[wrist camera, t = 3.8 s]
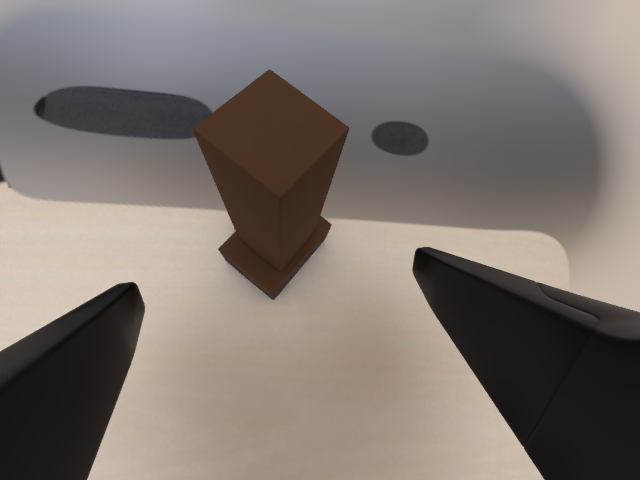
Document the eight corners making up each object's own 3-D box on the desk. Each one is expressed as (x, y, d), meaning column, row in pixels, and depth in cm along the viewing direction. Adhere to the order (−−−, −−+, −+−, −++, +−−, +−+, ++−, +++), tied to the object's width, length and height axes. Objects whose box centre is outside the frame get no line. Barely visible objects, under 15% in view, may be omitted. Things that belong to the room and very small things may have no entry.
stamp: (273, 300, 20) (262, 243, 7) (226, 261, 20) (142, 145, 8) (325, 238, 22) (384, 113, 9) (281, 204, 22) (283, 40, 10)
